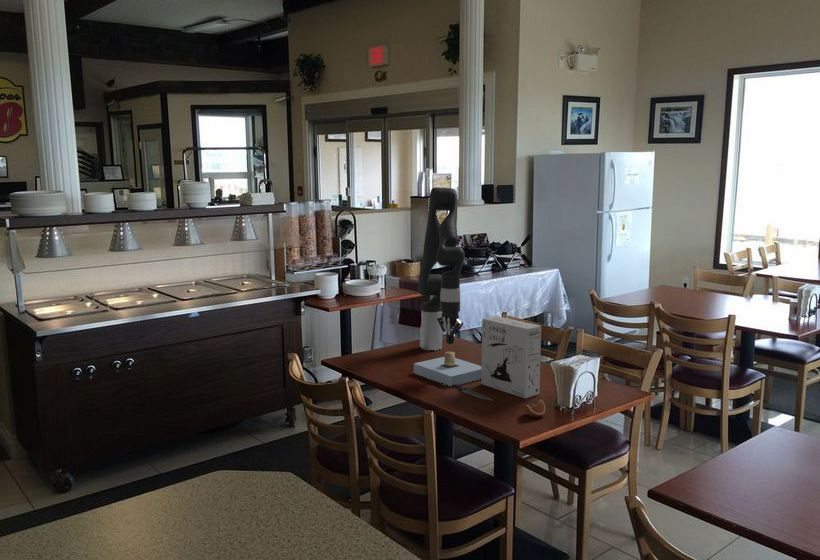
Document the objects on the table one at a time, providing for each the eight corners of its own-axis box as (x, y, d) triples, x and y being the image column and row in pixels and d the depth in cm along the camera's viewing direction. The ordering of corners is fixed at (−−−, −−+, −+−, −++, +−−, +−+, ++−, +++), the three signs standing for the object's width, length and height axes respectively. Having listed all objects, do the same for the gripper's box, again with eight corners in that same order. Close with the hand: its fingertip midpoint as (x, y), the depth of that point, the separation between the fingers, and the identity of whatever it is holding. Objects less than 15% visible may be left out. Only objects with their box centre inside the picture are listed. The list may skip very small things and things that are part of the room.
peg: (442, 375, 269) (442, 352, 268) (450, 373, 271) (450, 351, 270) (449, 377, 266) (449, 355, 264) (457, 375, 268) (457, 353, 267)
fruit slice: (532, 422, 220) (533, 406, 219) (516, 416, 225) (517, 401, 224) (549, 415, 225) (550, 401, 224) (533, 410, 230) (534, 396, 229)
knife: (487, 404, 237) (497, 401, 240) (487, 401, 237) (497, 398, 240) (439, 385, 258) (450, 382, 261) (439, 382, 258) (450, 380, 261)
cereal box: (480, 384, 258) (481, 318, 254) (494, 380, 263) (496, 315, 259) (525, 399, 241) (527, 328, 238) (539, 394, 246) (541, 325, 242)
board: (413, 373, 272) (413, 363, 271) (448, 365, 283) (448, 355, 282) (451, 387, 255) (451, 376, 254) (486, 378, 266) (486, 367, 265)
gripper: (469, 300, 261) (468, 345, 264) (446, 295, 271) (446, 339, 274) (454, 303, 256) (454, 348, 259) (431, 298, 267) (431, 342, 269)
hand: (450, 343), depth 267 cm, fingers closed
